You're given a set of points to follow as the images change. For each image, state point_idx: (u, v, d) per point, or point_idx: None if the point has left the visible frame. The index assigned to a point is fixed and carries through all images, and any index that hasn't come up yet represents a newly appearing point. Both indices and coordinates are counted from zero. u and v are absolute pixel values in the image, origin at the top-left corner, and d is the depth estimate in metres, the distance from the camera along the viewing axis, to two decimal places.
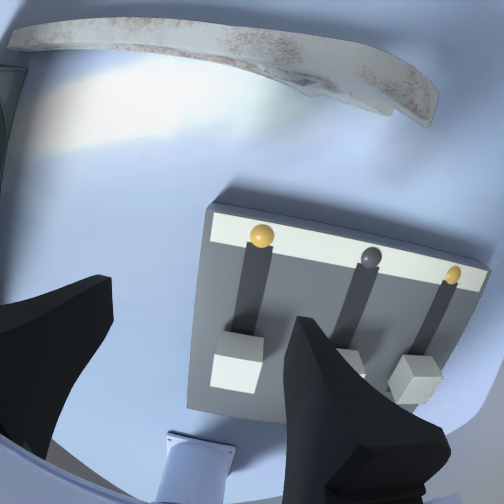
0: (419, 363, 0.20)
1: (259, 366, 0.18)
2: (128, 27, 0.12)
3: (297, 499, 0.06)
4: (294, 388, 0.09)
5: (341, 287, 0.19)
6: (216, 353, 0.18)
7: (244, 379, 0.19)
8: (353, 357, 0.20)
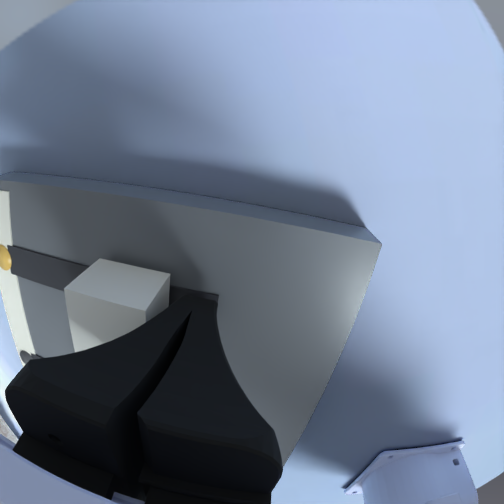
0: None
1: None
2: None
3: None
4: None
5: None
6: None
7: None
8: None
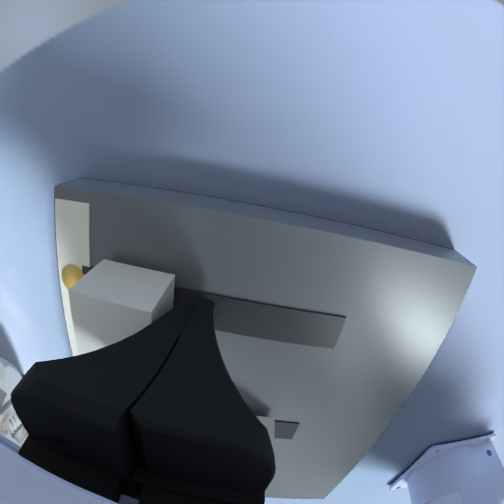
0: None
1: None
2: None
3: None
4: None
5: None
6: None
7: None
8: None
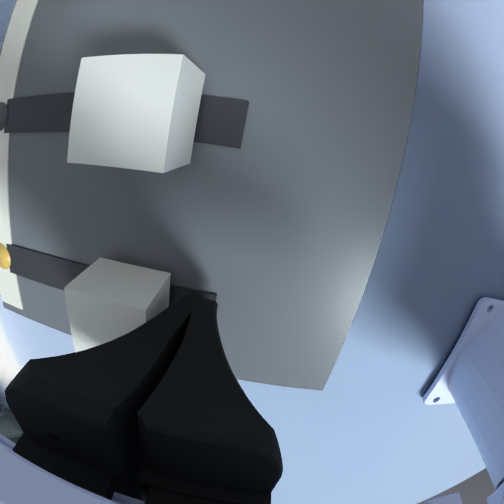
0: None
1: (73, 293, 0.09)
2: None
3: None
4: None
5: (29, 143, 0.10)
6: None
7: (110, 322, 0.09)
8: None
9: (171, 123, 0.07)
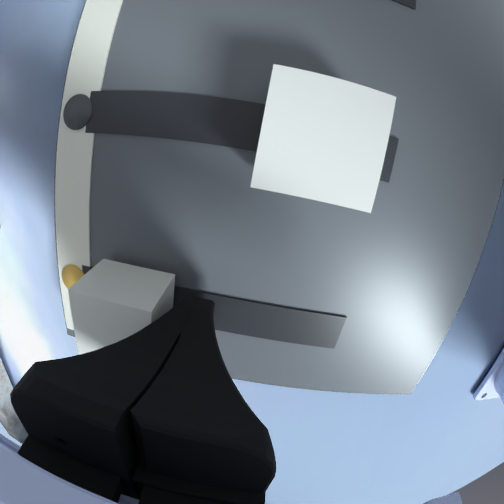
0: None
1: (77, 295, 0.09)
2: None
3: None
4: None
5: (127, 148, 0.10)
6: None
7: (115, 324, 0.09)
8: None
9: (381, 164, 0.07)
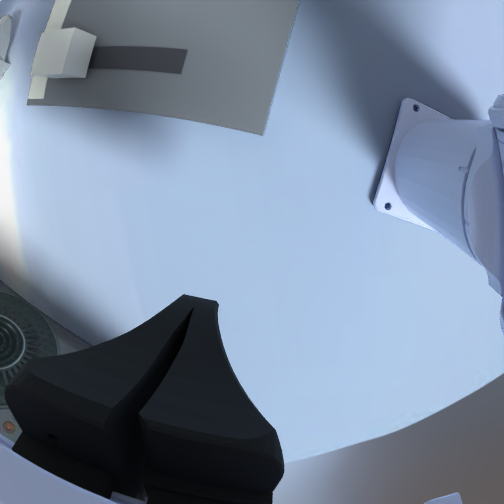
0: None
1: (44, 33, 0.12)
2: None
3: None
4: None
5: None
6: (31, 74, 0.13)
7: (56, 41, 0.12)
8: None
9: None
